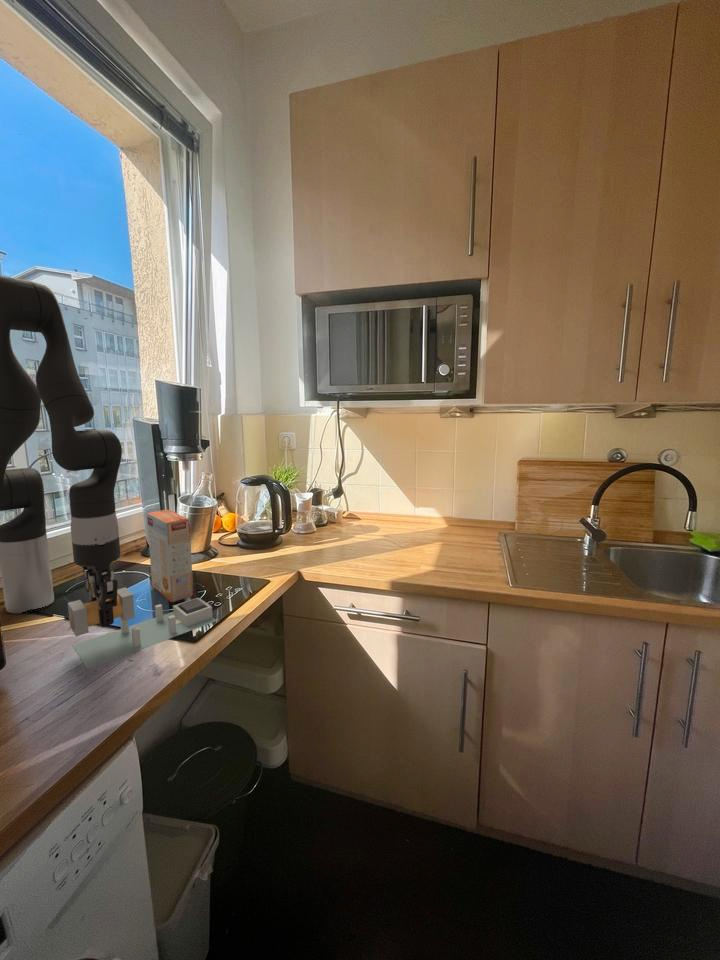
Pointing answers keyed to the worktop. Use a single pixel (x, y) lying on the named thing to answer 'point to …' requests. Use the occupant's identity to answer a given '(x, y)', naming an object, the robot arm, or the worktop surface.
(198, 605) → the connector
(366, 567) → the worktop surface
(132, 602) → the tan and white bar
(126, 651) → the board
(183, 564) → the cracker box
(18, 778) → the worktop surface
